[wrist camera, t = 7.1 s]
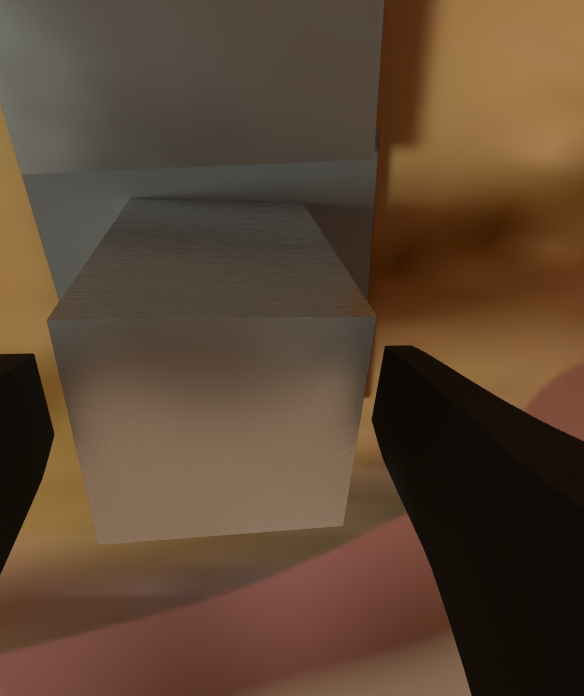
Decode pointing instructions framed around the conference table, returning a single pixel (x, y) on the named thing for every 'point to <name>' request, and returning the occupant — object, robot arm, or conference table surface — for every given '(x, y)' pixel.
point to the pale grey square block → (213, 371)
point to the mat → (205, 184)
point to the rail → (188, 82)
